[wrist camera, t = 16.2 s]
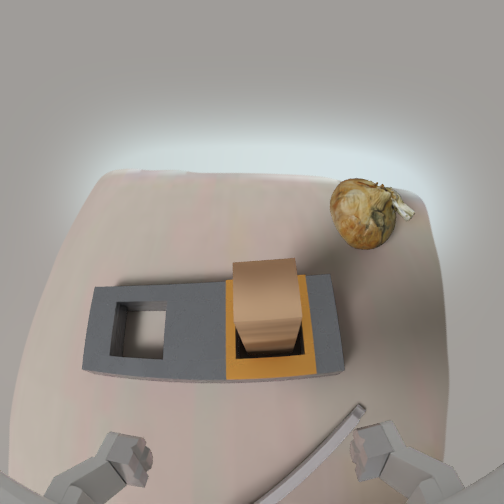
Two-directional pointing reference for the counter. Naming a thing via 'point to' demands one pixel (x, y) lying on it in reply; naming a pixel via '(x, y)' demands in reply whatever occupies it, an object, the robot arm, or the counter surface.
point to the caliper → (313, 459)
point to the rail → (208, 335)
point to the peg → (267, 305)
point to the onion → (366, 212)
